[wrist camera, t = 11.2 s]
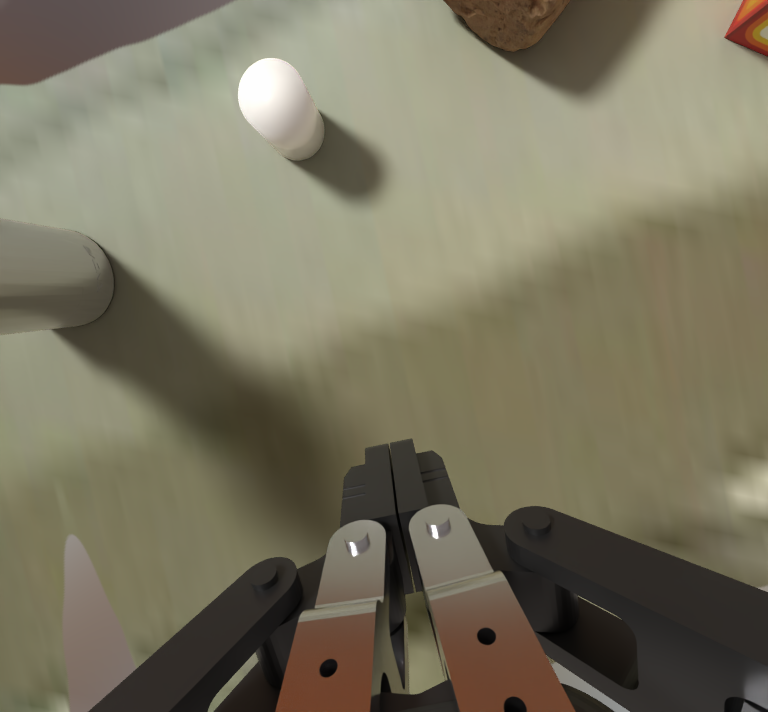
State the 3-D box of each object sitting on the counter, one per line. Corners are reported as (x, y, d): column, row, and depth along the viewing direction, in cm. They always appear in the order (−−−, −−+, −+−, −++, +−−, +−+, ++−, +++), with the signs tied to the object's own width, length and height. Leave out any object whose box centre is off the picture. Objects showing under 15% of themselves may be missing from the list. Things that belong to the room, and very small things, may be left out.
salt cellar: (277, 166, 38) (247, 140, 31) (263, 108, 37) (230, 68, 30) (330, 153, 38) (312, 123, 31) (317, 94, 37) (296, 50, 30)
